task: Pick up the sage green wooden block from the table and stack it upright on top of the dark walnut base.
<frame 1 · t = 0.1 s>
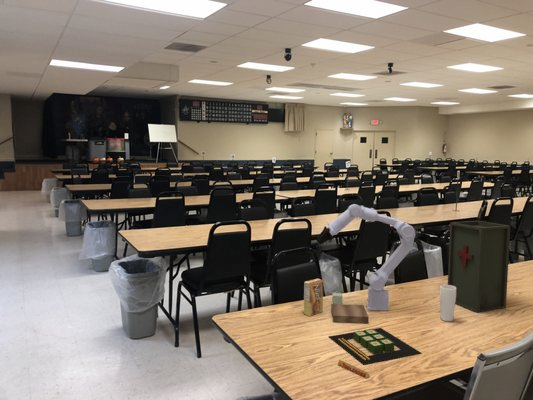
hand: (318, 241, 203), 32 cm above the table, tool tilted 50°, fingers open, 7 cm apart
walnut base: (349, 316, 192), on the table
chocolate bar: (353, 372, 142), on the table
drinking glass: (446, 320, 188), on the table
candy box: (313, 313, 196), on the table
green block: (337, 304, 208), on the table
sushi: (372, 347, 162), on the table
first aid box: (475, 304, 208), on the table
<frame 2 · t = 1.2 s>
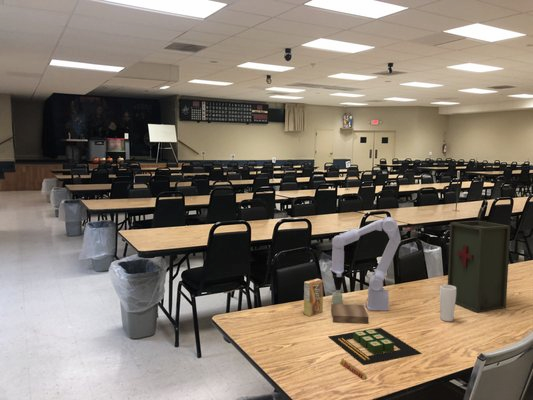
hand: (337, 287, 207), 9 cm above the table, tool pointing down, fingers open, 7 cm apart
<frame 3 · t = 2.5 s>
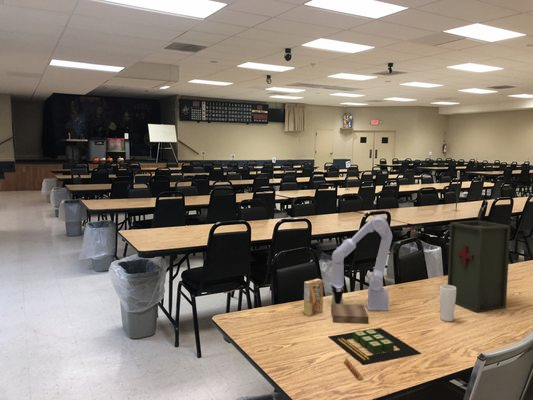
hand: (337, 301, 208), 1 cm above the table, tool pointing down, fingers closed on green block, 4 cm apart
green block: (337, 304, 208), on the table, touching gripper
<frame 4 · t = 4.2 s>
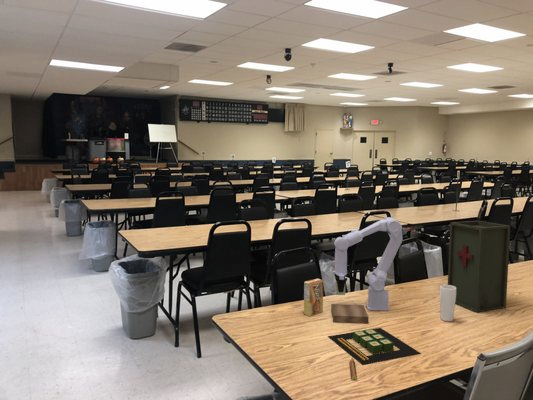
hand: (340, 290, 203), 8 cm above the table, tool pointing down, fingers closed on green block, 4 cm apart
green block: (340, 293, 203), point 7 cm above the table, touching gripper
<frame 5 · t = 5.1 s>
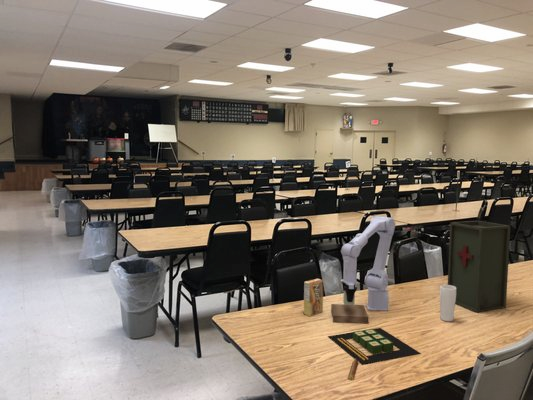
hand: (349, 299, 191), 8 cm above the table, tool pointing down, fingers closed on green block, 4 cm apart
green block: (348, 303, 191), point 6 cm above the table, touching gripper
when the fingers open (6 cm above the table, at t = 5.8 s): green block drops 1 cm, resting on walnut base.
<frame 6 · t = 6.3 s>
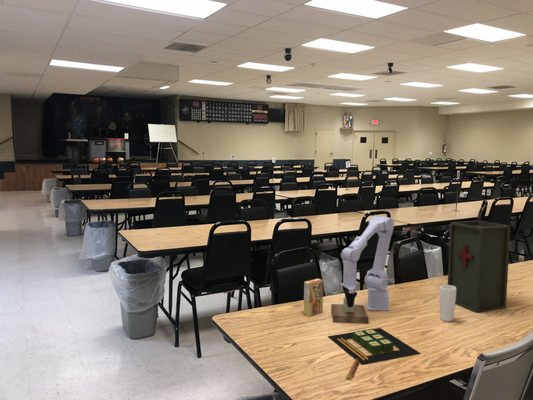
hand: (349, 303, 191), 6 cm above the table, tool pointing down, fingers open, 7 cm apart
green block: (348, 310, 191), point 3 cm above the table, touching walnut base
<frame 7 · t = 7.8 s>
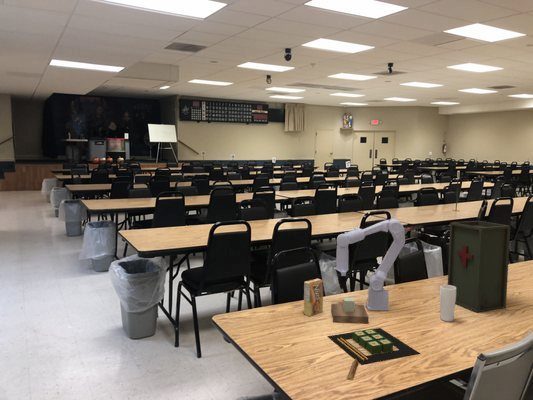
hand: (341, 286, 206), 9 cm above the table, tool pointing down, fingers open, 7 cm apart
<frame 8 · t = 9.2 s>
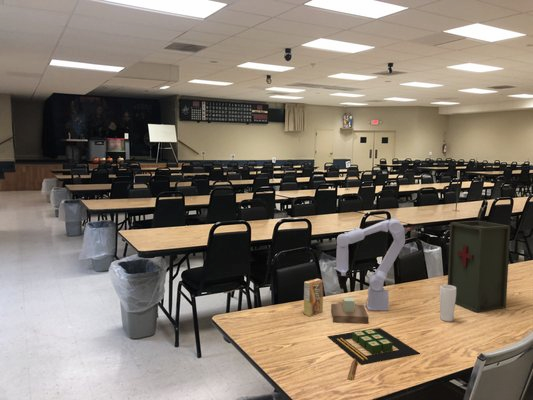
hand: (341, 286, 206), 9 cm above the table, tool pointing down, fingers open, 7 cm apart
at the end: green block inside the target area on the walnut base (0.2 cm from its centre), point 3.0 cm above the walnut base's base; green block tilted 0°; the gripper is holding nothing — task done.
